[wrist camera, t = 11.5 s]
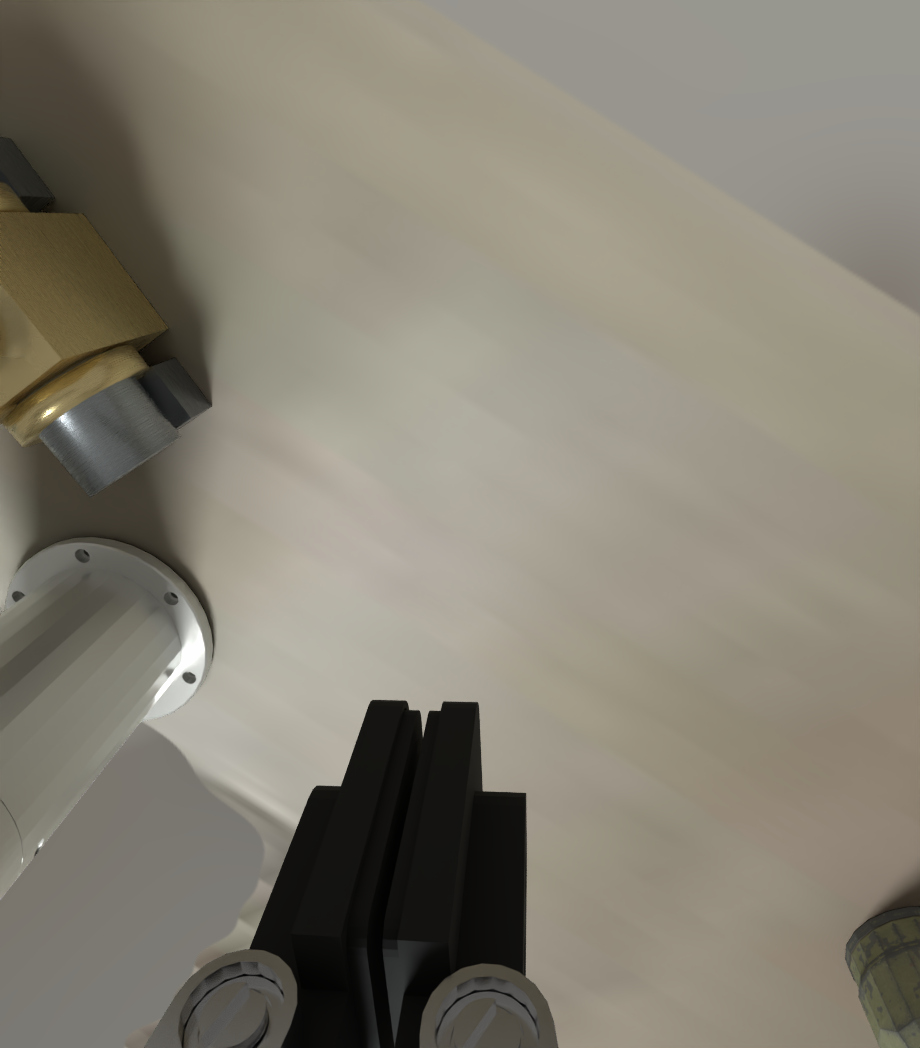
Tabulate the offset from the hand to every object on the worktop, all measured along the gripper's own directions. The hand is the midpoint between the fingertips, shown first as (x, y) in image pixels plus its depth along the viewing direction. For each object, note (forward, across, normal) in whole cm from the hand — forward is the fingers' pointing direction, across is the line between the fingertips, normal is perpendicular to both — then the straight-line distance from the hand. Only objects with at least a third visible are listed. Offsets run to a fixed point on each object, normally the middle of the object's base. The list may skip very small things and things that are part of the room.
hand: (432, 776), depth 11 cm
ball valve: (+27, +21, -5) cm, 35 cm away
